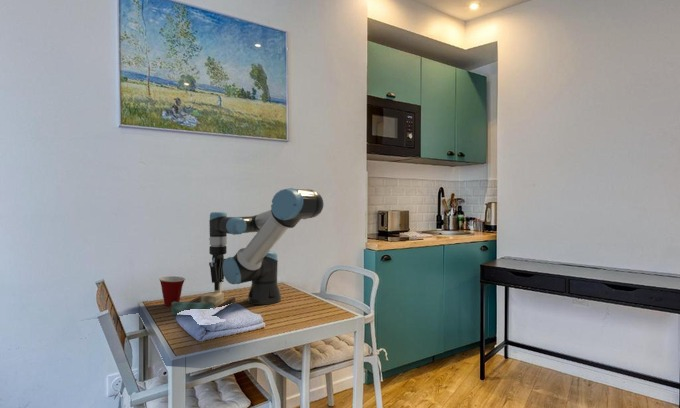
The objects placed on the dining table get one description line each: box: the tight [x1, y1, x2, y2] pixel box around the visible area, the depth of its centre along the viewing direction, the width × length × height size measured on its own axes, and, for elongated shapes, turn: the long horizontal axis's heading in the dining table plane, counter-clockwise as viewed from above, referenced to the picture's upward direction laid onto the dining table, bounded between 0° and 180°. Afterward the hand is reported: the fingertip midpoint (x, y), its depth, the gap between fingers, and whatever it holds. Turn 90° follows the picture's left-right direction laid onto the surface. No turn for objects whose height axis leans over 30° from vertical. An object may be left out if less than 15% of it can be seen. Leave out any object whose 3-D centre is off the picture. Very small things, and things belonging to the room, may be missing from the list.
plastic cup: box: [158, 275, 186, 307], centre depth 176 cm, size 11×11×12 cm
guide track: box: [171, 295, 236, 316], centre depth 170 cm, size 17×24×5 cm
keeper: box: [200, 291, 225, 307], centre depth 177 cm, size 7×7×4 cm
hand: (217, 296), depth 183 cm, fingers closed
